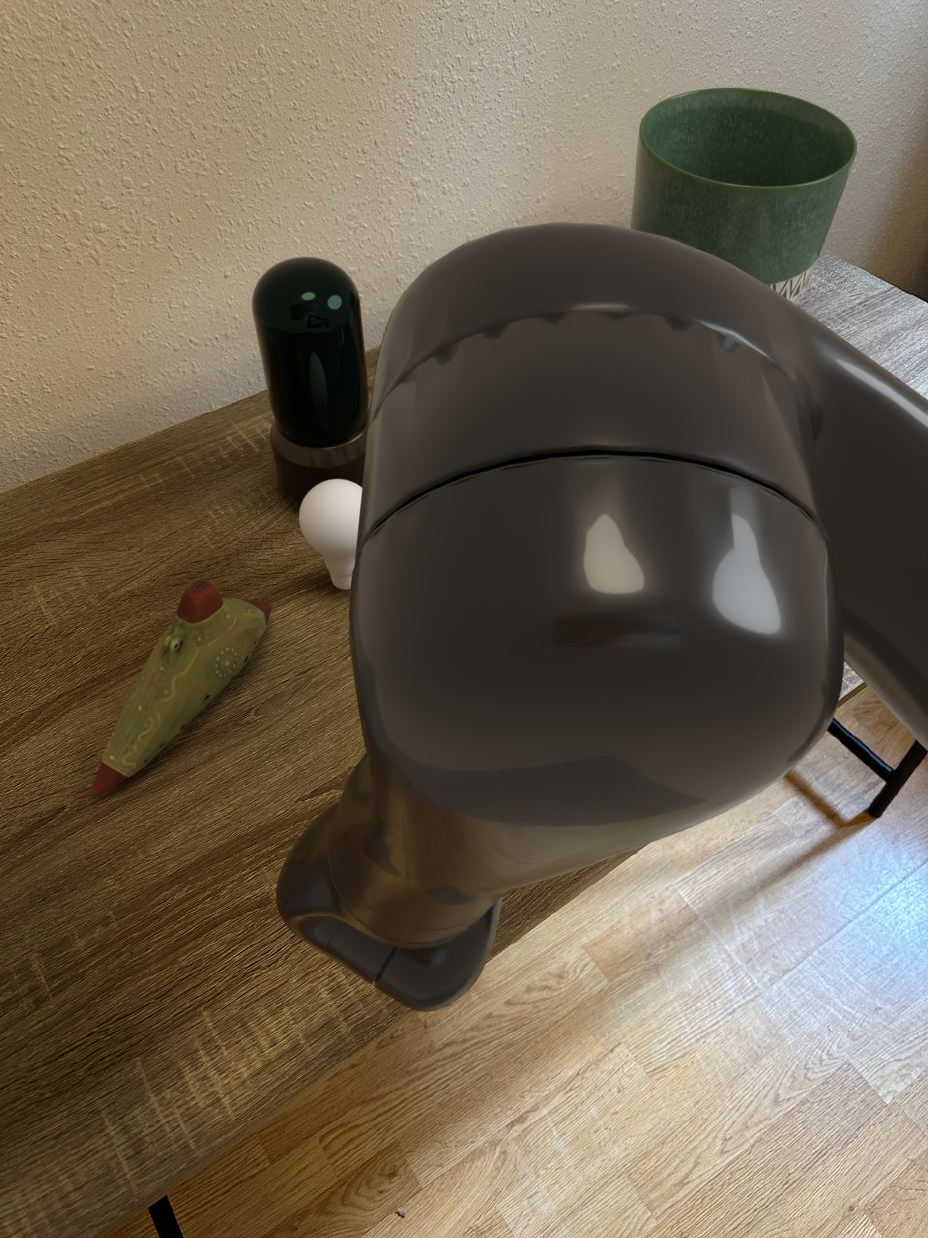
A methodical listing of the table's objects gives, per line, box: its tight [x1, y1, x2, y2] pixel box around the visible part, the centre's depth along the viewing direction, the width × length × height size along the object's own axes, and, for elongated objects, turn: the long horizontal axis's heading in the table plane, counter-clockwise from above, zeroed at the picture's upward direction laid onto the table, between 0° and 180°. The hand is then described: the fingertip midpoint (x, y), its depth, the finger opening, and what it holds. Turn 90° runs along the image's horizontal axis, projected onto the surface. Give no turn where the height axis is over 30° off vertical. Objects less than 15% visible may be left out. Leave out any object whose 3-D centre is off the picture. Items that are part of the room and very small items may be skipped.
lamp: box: [251, 256, 370, 506], centre depth 84 cm, size 10×10×22 cm
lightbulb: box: [298, 479, 362, 591], centre depth 80 cm, size 6×6×11 cm
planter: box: [630, 87, 858, 306], centre depth 98 cm, size 20×20×21 cm
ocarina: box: [91, 578, 272, 797], centre depth 73 cm, size 20×5×10 cm, turn 149°
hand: (642, 480), depth 65 cm, fingers open, 8 cm apart
